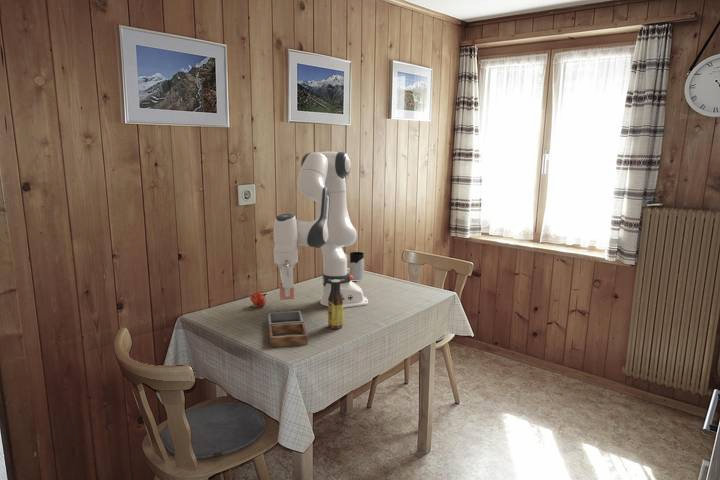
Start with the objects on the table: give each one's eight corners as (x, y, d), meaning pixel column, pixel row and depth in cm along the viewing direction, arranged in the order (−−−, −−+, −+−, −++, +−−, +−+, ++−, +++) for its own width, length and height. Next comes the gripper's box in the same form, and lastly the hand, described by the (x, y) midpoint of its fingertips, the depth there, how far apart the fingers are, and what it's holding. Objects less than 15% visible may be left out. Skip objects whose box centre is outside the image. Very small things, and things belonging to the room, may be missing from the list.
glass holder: (359, 282, 273) (359, 255, 270) (337, 279, 280) (337, 252, 277) (367, 279, 280) (367, 252, 278) (346, 275, 287) (345, 249, 285)
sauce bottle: (327, 324, 210) (327, 278, 206) (342, 324, 210) (342, 277, 206) (328, 330, 203) (327, 282, 200) (343, 329, 204) (343, 282, 200)
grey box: (300, 318, 216) (300, 310, 216) (303, 329, 203) (303, 321, 203) (268, 320, 214) (268, 312, 213) (269, 332, 201) (269, 323, 200)
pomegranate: (251, 315, 228) (269, 302, 227) (242, 302, 227) (259, 289, 226) (256, 311, 235) (272, 298, 234) (246, 299, 235) (263, 286, 234)
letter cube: (292, 295, 194) (292, 282, 193) (293, 299, 189) (293, 285, 188) (279, 295, 193) (279, 282, 192) (280, 299, 188) (280, 286, 187)
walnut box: (304, 331, 202) (303, 322, 201) (307, 344, 189) (307, 335, 188) (269, 333, 199) (269, 325, 199) (270, 346, 186) (270, 338, 185)
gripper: (296, 263, 179) (297, 301, 181) (292, 251, 198) (293, 285, 201) (278, 264, 177) (279, 302, 180) (276, 252, 197) (277, 286, 200)
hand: (286, 293), depth 191 cm, fingers closed on letter cube, 5 cm apart
